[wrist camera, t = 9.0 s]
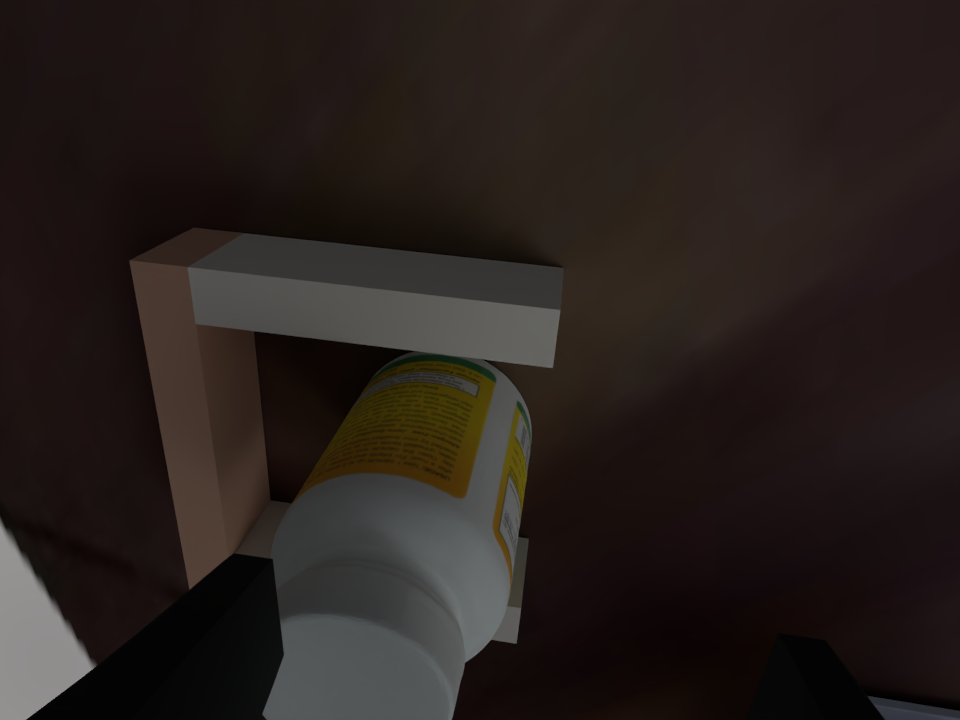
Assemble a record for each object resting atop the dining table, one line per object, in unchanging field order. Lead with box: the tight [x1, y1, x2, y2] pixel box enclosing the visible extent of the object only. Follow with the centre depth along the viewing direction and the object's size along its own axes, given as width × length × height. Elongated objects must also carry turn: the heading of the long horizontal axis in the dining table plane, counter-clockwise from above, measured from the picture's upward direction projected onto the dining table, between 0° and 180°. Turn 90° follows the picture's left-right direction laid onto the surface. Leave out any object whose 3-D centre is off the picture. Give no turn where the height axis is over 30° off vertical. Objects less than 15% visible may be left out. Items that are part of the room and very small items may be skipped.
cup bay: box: [129, 228, 564, 644], centre depth 19 cm, size 11×10×3 cm
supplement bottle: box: [263, 351, 532, 720], centre depth 16 cm, size 5×5×10 cm
